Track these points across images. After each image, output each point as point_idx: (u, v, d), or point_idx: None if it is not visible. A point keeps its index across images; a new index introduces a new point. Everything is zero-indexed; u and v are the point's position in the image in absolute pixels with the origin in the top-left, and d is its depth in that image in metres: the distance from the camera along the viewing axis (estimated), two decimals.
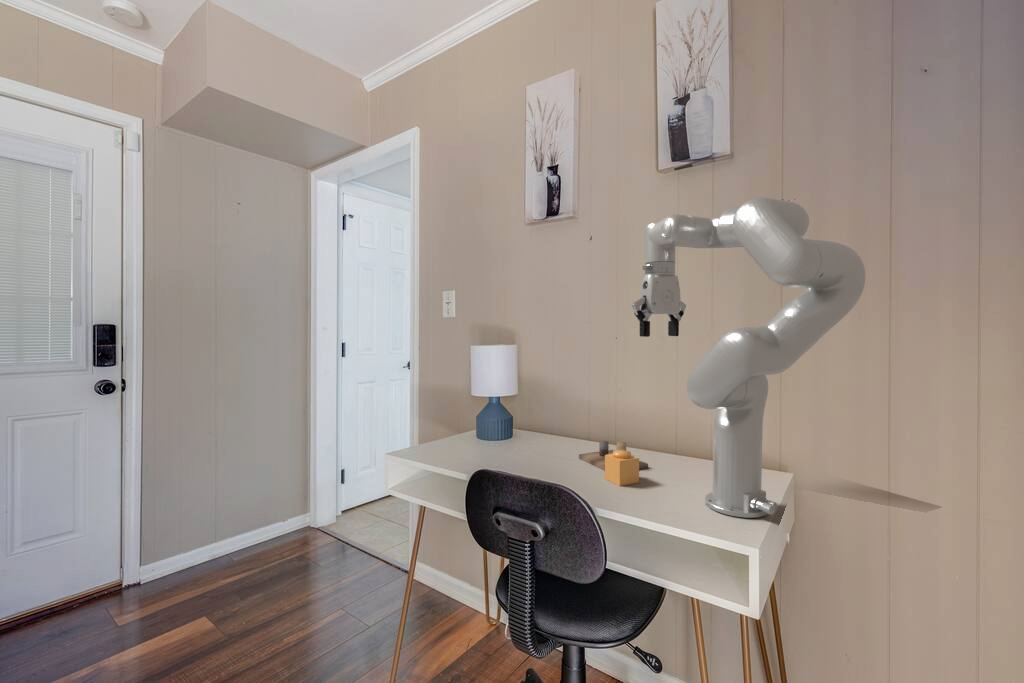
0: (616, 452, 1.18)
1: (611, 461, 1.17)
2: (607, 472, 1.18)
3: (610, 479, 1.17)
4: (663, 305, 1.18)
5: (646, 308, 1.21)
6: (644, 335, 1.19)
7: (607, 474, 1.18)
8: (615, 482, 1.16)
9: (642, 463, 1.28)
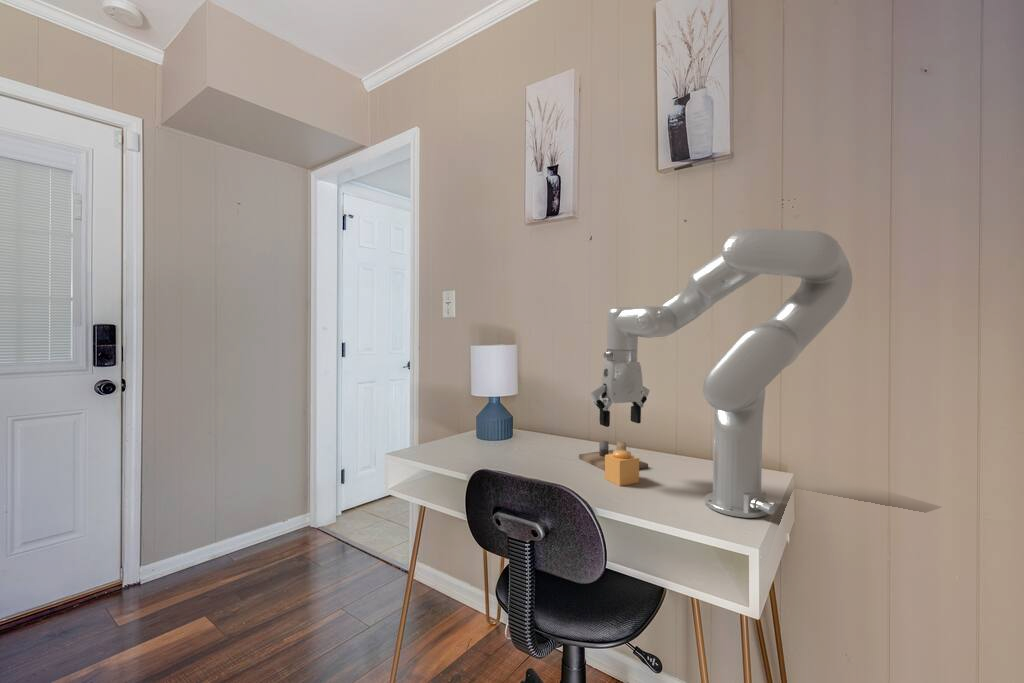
0: (616, 452, 1.18)
1: (611, 461, 1.17)
2: (607, 472, 1.18)
3: (610, 479, 1.17)
4: (624, 394, 1.14)
5: (607, 395, 1.17)
6: (604, 424, 1.15)
7: (607, 474, 1.18)
8: (615, 482, 1.16)
9: (642, 463, 1.28)
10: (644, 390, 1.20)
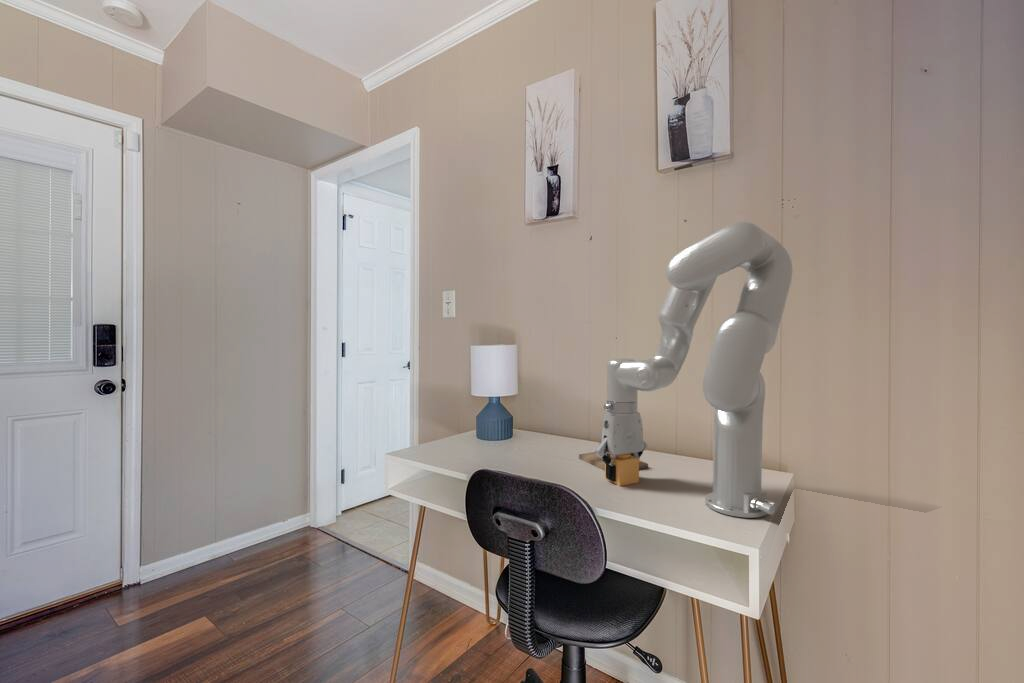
0: None
1: None
2: None
3: None
4: (624, 446, 1.15)
5: None
6: (610, 479, 1.16)
7: None
8: (615, 482, 1.16)
9: (642, 463, 1.28)
10: (642, 444, 1.20)
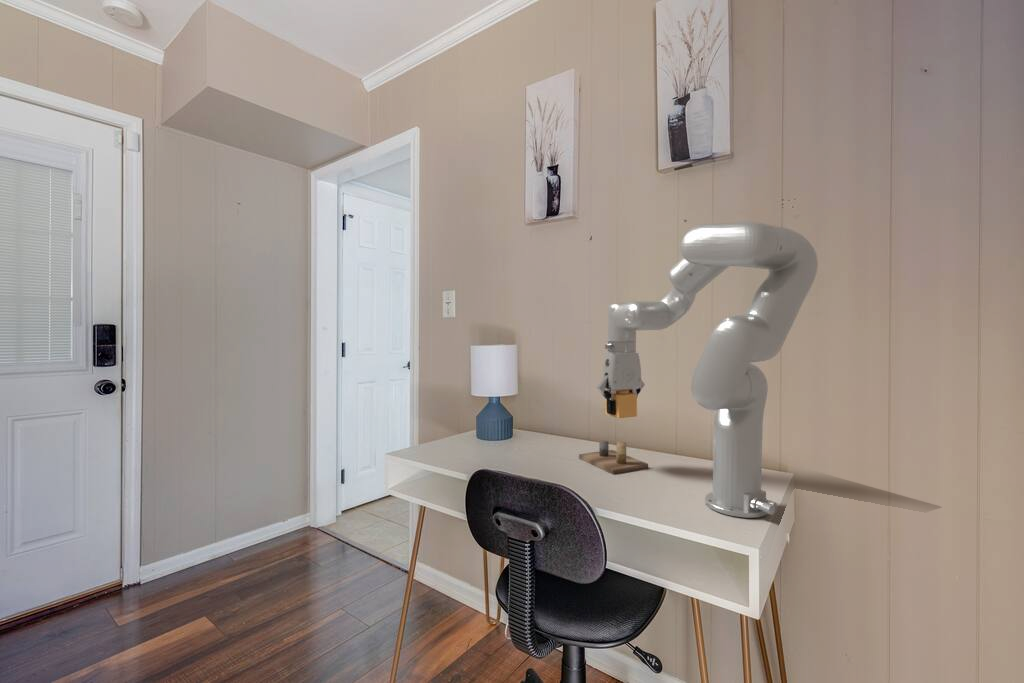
0: None
1: None
2: None
3: None
4: (624, 382, 1.25)
5: None
6: (610, 413, 1.27)
7: None
8: (615, 415, 1.26)
9: (642, 463, 1.28)
10: None
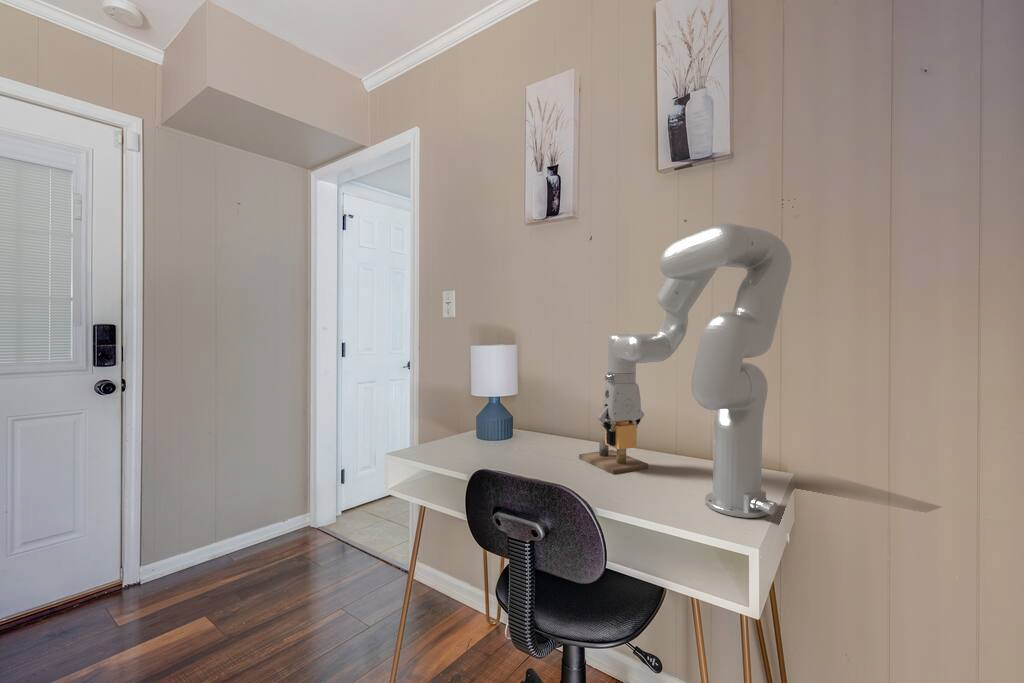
0: None
1: None
2: None
3: None
4: (623, 414, 1.26)
5: None
6: (610, 444, 1.27)
7: None
8: (614, 446, 1.27)
9: (642, 463, 1.28)
10: None
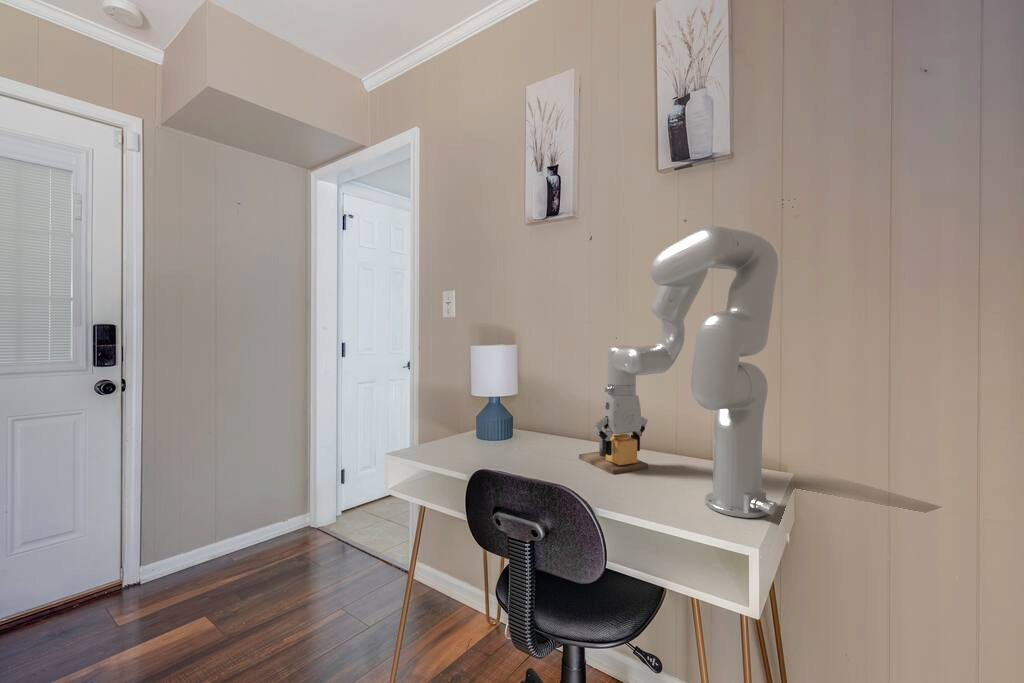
0: (616, 435, 1.29)
1: (612, 443, 1.28)
2: None
3: (611, 459, 1.28)
4: (624, 426, 1.26)
5: (609, 426, 1.28)
6: (606, 453, 1.27)
7: (608, 455, 1.29)
8: (615, 462, 1.27)
9: (642, 463, 1.28)
10: (642, 420, 1.31)
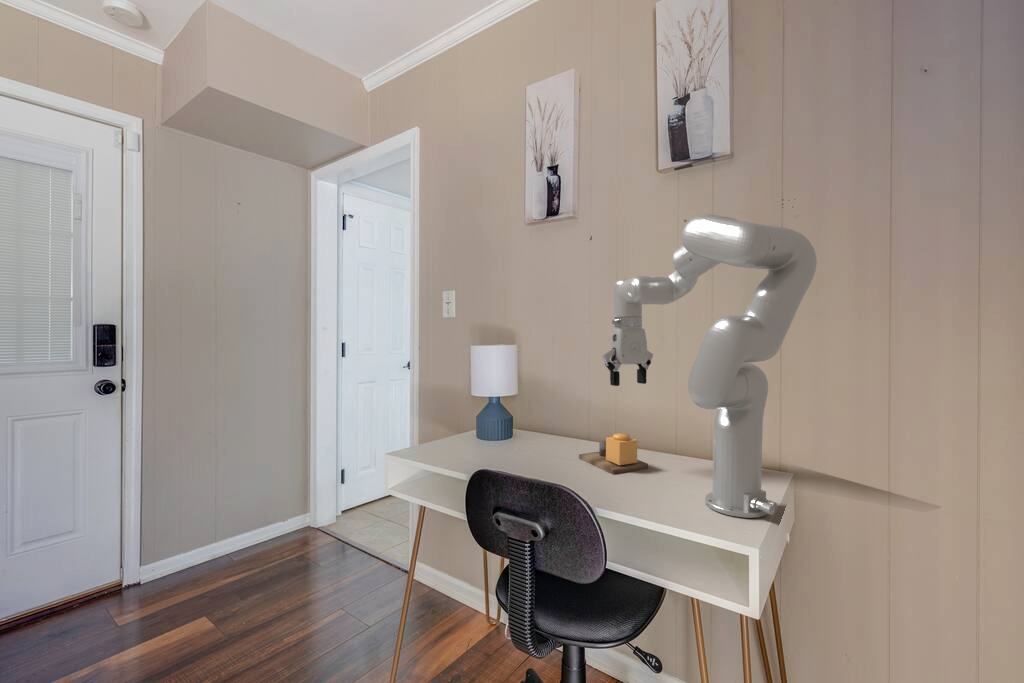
0: (616, 435, 1.29)
1: (612, 443, 1.28)
2: (608, 453, 1.29)
3: (611, 459, 1.28)
4: (631, 357, 1.28)
5: (616, 359, 1.31)
6: (614, 384, 1.29)
7: (608, 455, 1.29)
8: (615, 462, 1.27)
9: (642, 463, 1.28)
10: (648, 354, 1.34)
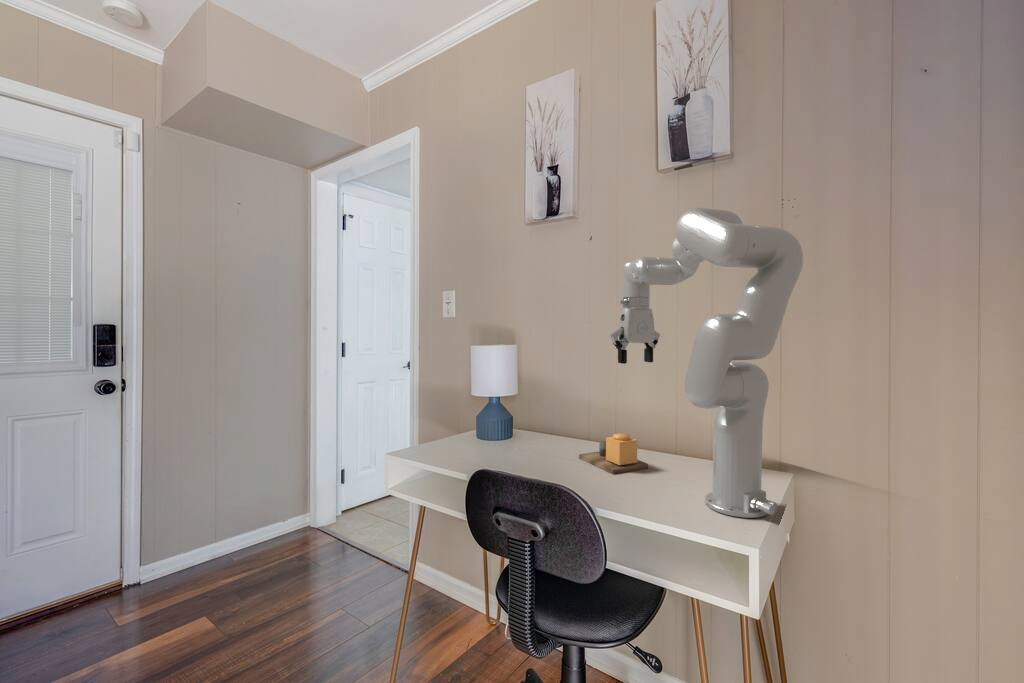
0: (616, 435, 1.29)
1: (612, 443, 1.28)
2: (608, 453, 1.29)
3: (611, 459, 1.28)
4: (638, 335, 1.33)
5: (624, 338, 1.35)
6: (622, 362, 1.34)
7: (608, 455, 1.29)
8: (615, 462, 1.27)
9: (642, 463, 1.28)
10: (655, 334, 1.39)
